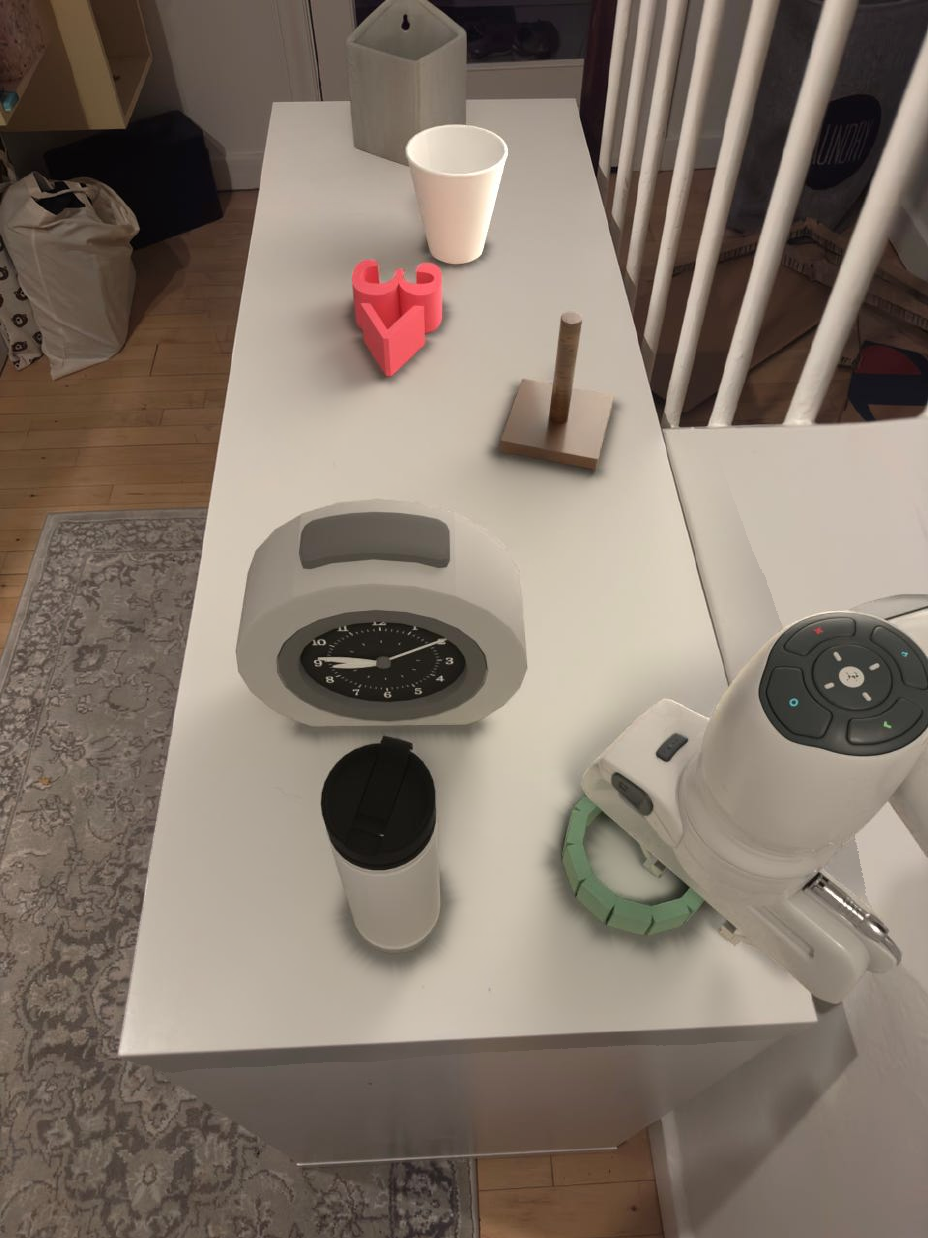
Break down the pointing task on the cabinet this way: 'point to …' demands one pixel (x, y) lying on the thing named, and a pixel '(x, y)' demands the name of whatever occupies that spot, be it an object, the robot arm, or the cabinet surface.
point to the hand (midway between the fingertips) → (694, 897)
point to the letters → (396, 311)
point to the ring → (603, 899)
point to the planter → (404, 76)
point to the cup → (456, 187)
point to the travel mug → (385, 842)
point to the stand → (559, 411)
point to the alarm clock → (382, 618)
